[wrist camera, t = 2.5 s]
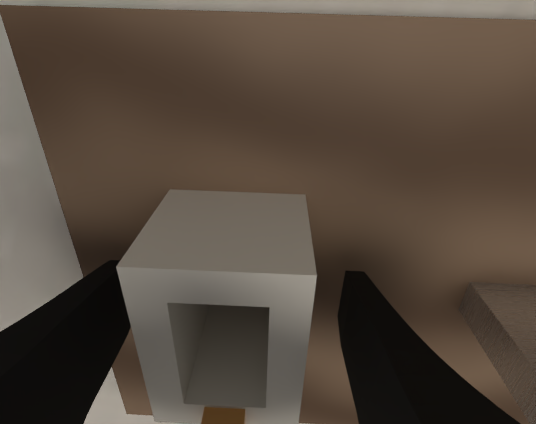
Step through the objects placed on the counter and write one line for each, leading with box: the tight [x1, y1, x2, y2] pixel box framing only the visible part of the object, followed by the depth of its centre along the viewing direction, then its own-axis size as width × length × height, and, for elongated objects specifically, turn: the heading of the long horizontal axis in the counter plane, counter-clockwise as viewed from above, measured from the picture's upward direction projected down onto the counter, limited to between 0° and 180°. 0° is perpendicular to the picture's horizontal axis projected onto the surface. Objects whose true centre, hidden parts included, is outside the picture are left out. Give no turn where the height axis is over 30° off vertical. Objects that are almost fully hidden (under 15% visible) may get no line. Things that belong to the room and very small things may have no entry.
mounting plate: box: [0, 5, 536, 424], centre depth 13 cm, size 18×22×1 cm
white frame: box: [116, 189, 317, 424], centre depth 10 cm, size 6×4×4 cm
